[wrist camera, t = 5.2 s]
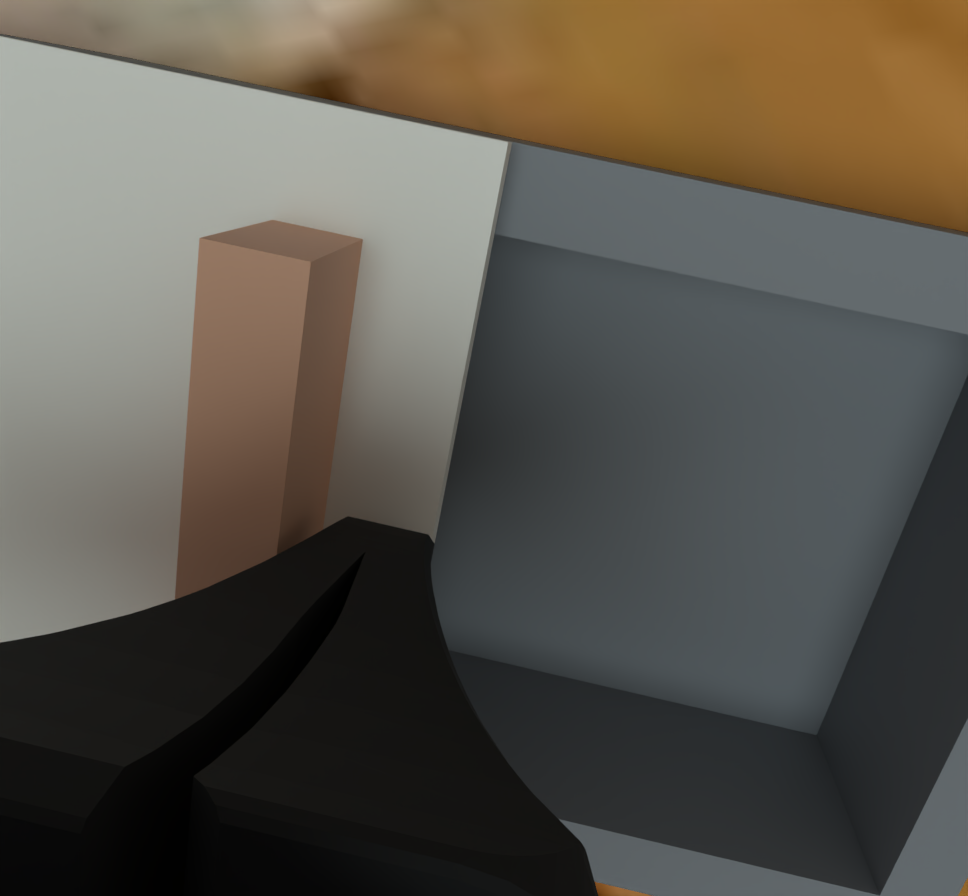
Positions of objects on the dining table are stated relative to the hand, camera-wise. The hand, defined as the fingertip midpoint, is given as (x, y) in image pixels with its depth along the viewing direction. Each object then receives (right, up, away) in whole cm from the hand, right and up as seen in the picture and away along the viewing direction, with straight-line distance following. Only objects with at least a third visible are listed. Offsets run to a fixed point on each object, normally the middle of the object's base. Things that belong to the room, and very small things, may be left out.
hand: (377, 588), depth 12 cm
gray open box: (+2, +2, +6) cm, 7 cm away
